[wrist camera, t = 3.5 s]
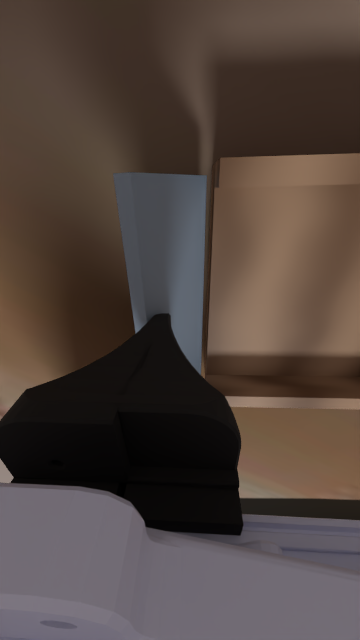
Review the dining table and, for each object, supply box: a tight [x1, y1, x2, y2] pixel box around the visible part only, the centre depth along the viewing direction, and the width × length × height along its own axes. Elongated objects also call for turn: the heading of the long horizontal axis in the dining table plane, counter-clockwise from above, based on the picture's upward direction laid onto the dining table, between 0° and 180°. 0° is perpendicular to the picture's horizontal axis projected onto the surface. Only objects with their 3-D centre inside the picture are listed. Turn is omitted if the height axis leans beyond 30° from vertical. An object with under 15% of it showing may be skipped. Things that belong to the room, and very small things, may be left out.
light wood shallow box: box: [205, 153, 360, 409], centre depth 13 cm, size 12×14×5 cm
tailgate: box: [113, 172, 207, 375], centre depth 13 cm, size 1×13×5 cm
